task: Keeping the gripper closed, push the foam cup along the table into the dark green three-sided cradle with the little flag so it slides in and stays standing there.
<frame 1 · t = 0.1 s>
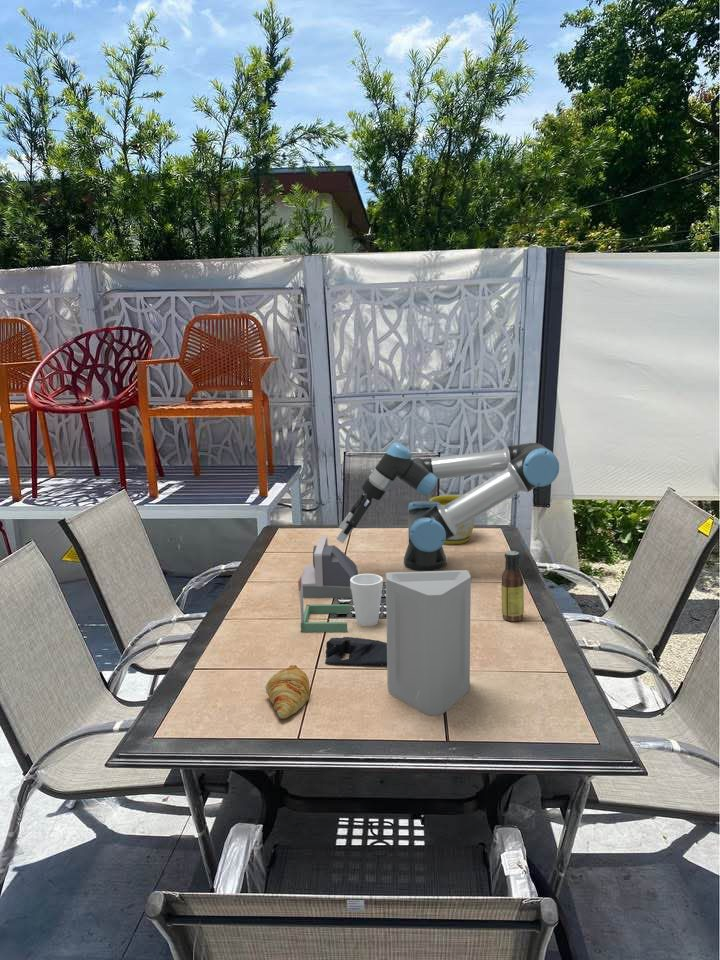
hand: (340, 534, 237), 15 cm above the table, tool tilted 35°, fingers open, 13 cm apart
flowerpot: (451, 540, 280), on the table
grey triangular prism: (430, 698, 162), on the table
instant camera: (330, 588, 232), on the table
croissant: (288, 699, 163), on the table
crumpled black cloth: (368, 656, 184), on the table
foam cup: (367, 622, 204), on the table
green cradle: (326, 621, 205), on the table
sauce bottle: (512, 618, 204), on the table
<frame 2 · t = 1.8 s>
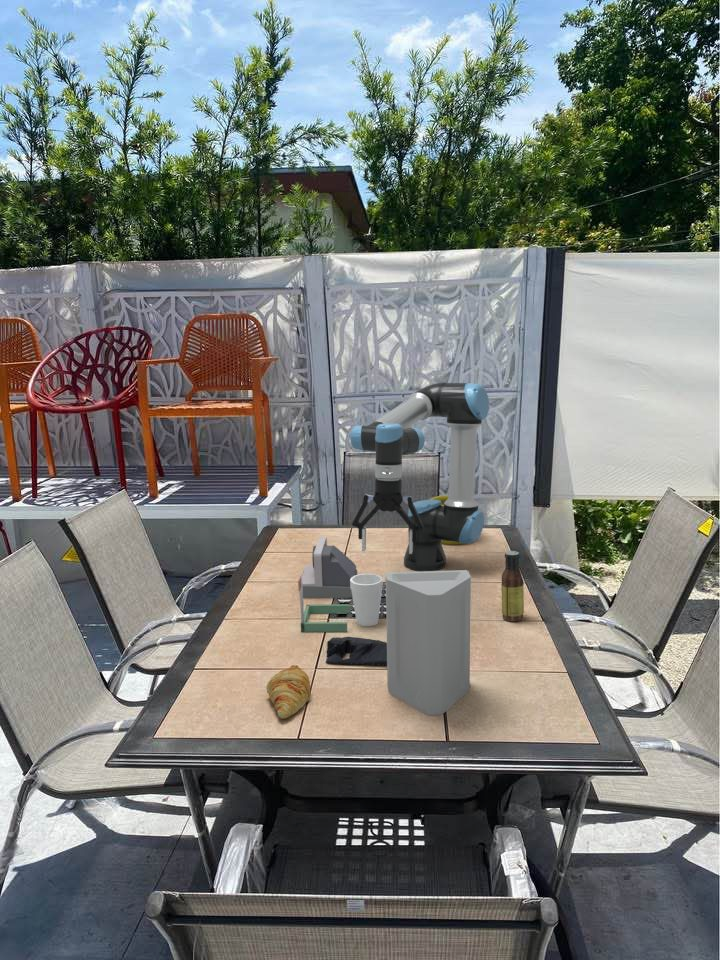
hand: (387, 551, 202), 20 cm above the table, tool pointing down, fingers open, 13 cm apart
nothing on the table moved.
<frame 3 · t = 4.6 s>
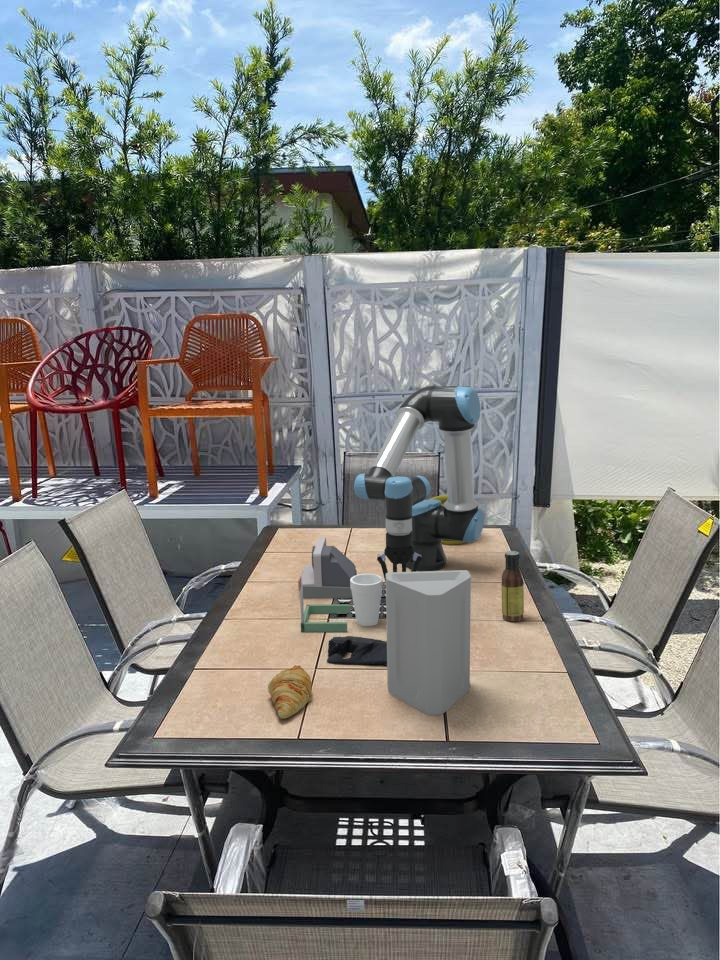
hand: (399, 610, 203), 3 cm above the table, tool pointing down, fingers closed
nothing on the table moved.
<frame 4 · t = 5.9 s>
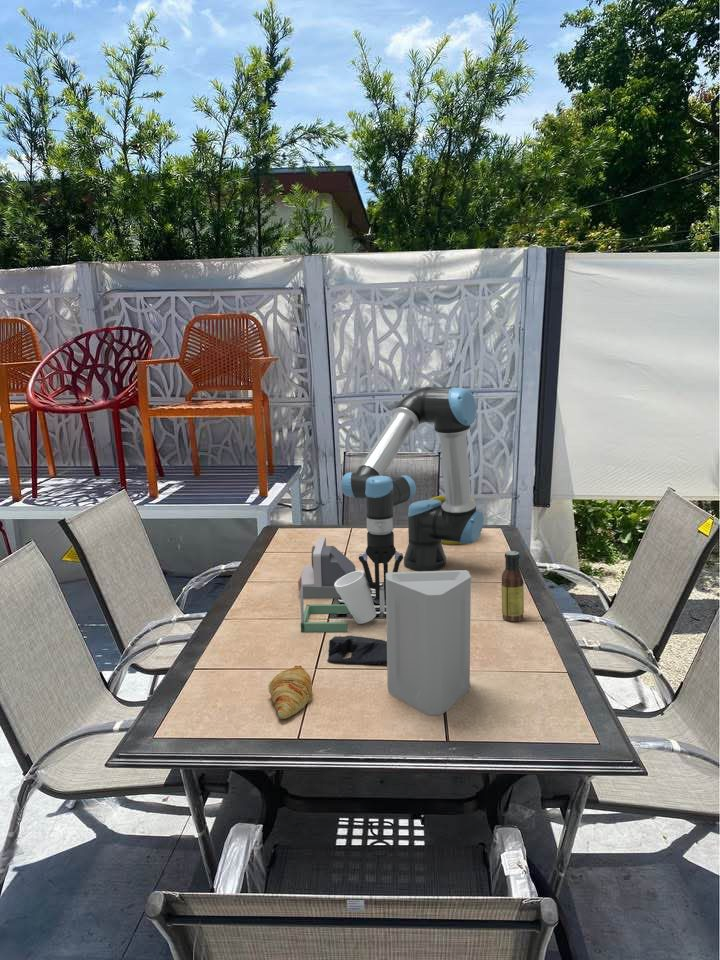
hand: (382, 609, 203), 4 cm above the table, tool pointing down, fingers closed
foam cup: (366, 618, 204), point 1 cm above the table, touching gripper, hand
everything else where it was.
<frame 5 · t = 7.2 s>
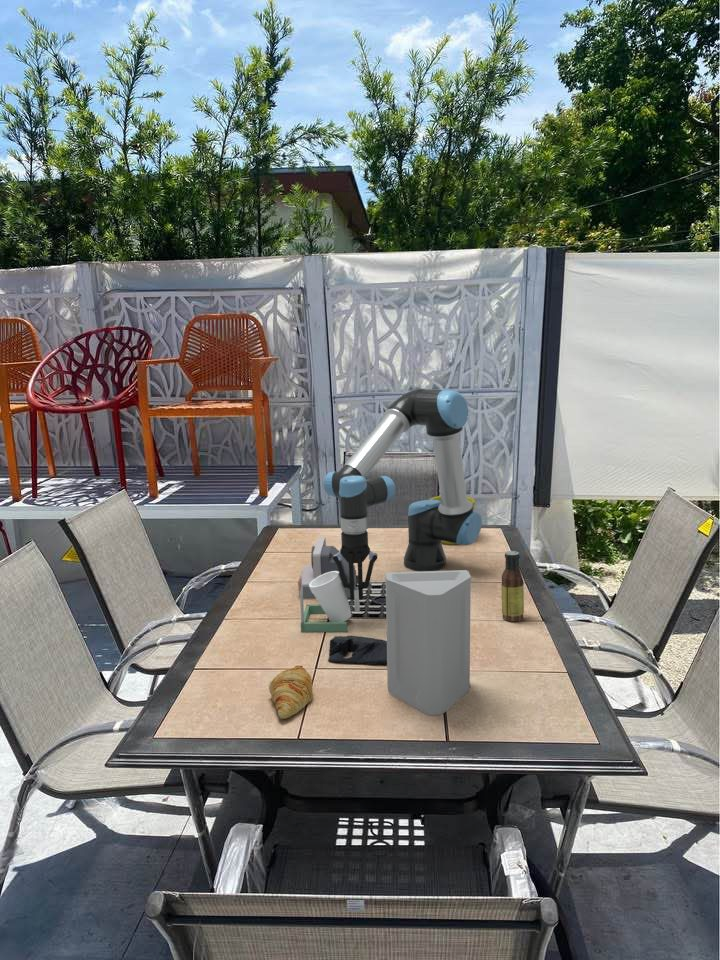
hand: (357, 609, 203), 4 cm above the table, tool pointing down, fingers closed
foam cup: (341, 618, 204), point 1 cm above the table, touching gripper, hand
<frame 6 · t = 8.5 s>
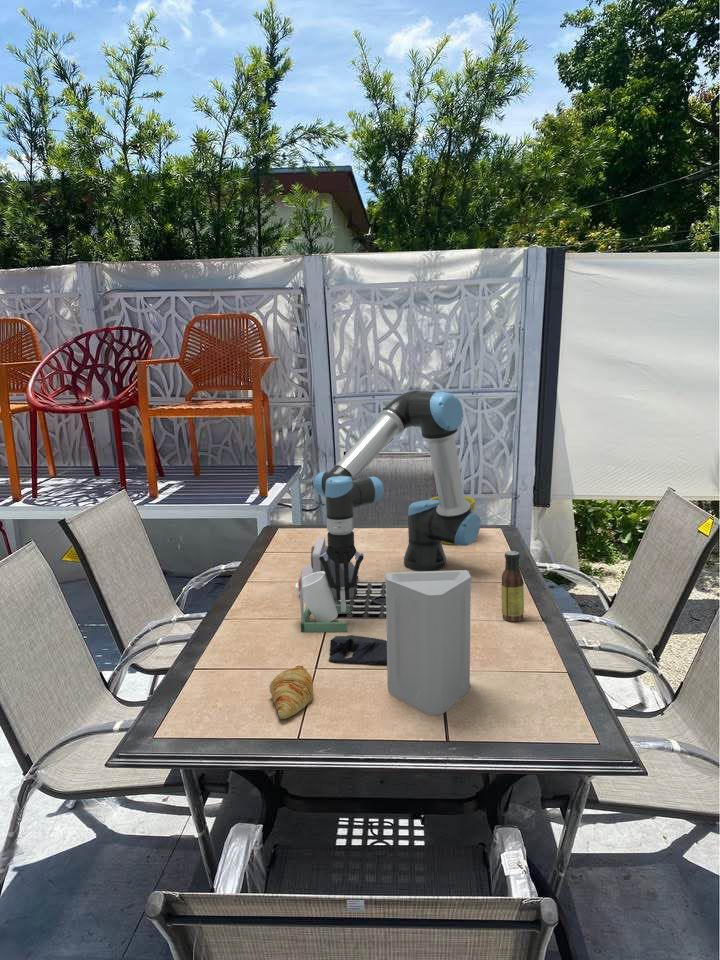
hand: (343, 610, 203), 4 cm above the table, tool pointing down, fingers closed
foam cup: (328, 619, 204), point 1 cm above the table, touching gripper, hand
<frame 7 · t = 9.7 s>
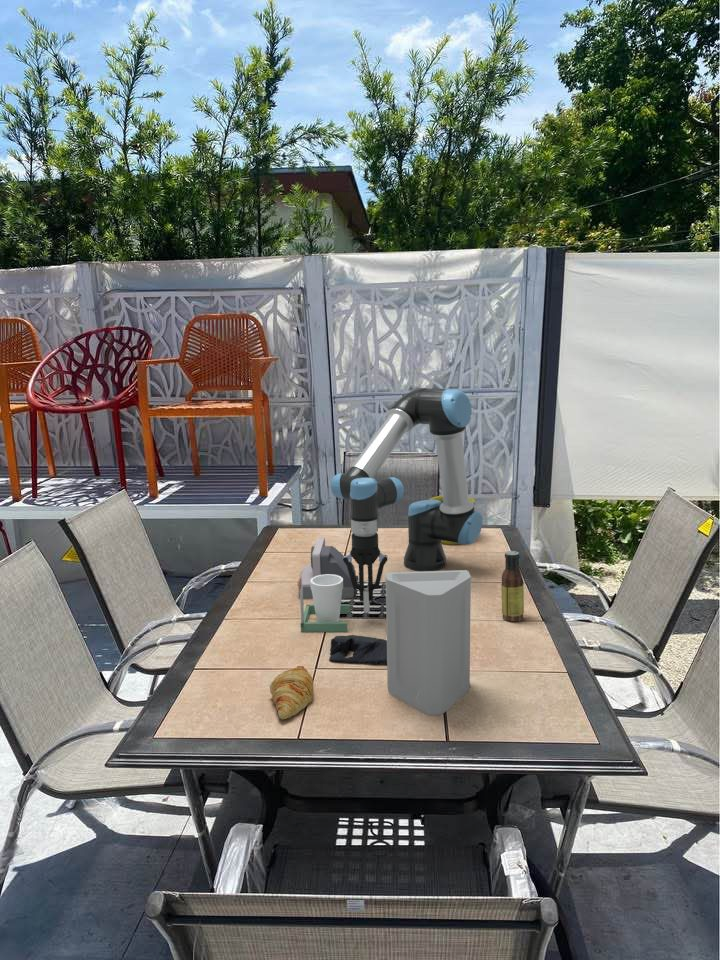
hand: (366, 611, 204), 3 cm above the table, tool pointing down, fingers closed
foam cup: (328, 622, 205), on the table
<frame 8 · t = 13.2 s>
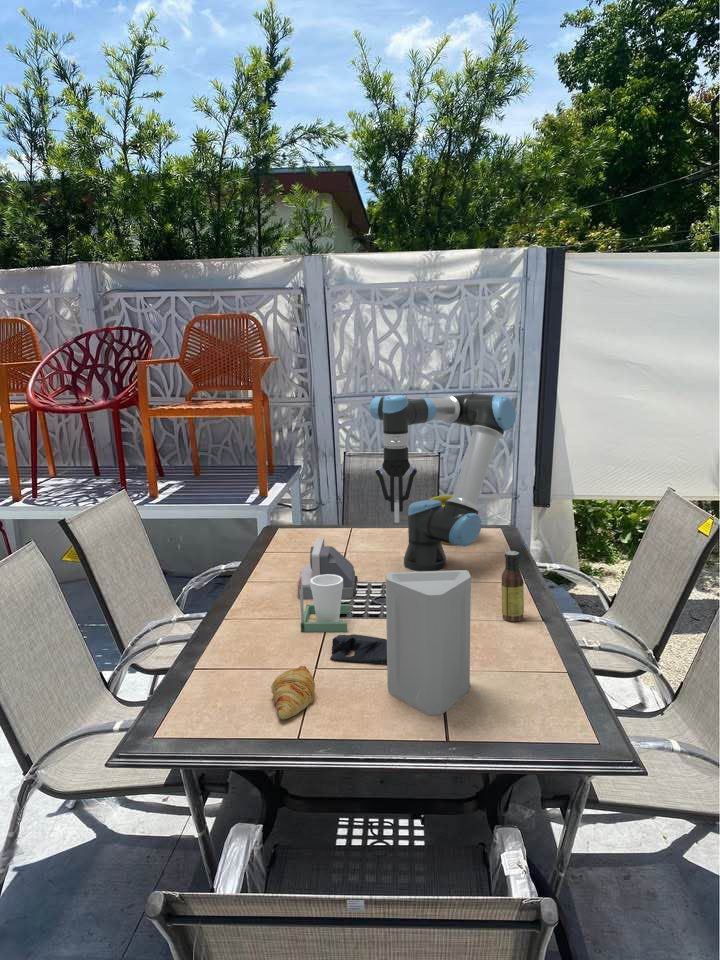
hand: (396, 521, 218), 24 cm above the table, tool pointing down, fingers closed
at the end: foam cup inside the target area on the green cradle (1.1 cm from its centre), point 0.0 cm above the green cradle's base; foam cup tilted 0°; foam cup moved 11.4 cm from its start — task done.
